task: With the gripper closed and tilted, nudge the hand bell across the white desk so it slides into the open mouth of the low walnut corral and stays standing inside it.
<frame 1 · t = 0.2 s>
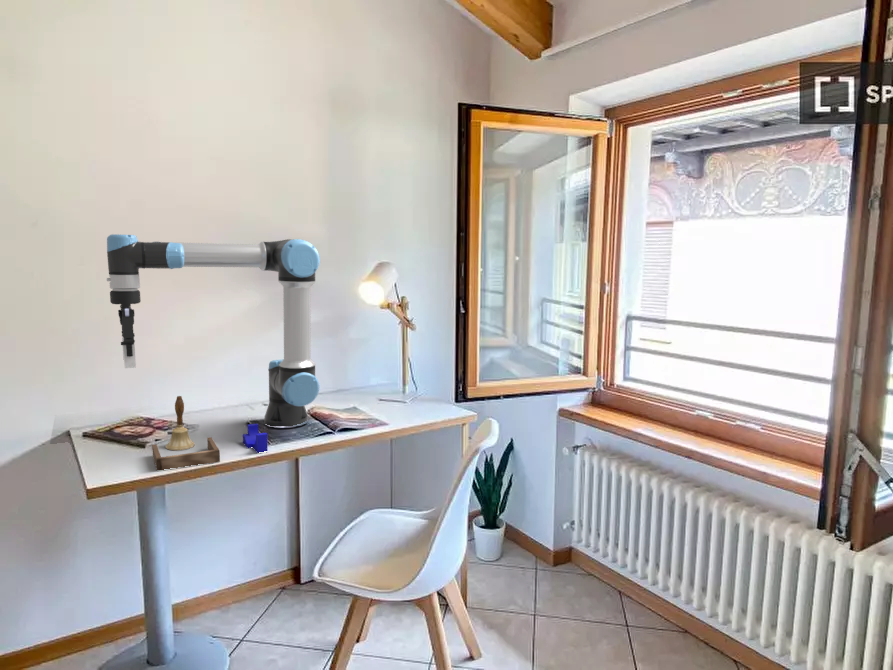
hand: (129, 363, 169), 28 cm above the table, tool pointing down, fingers open, 13 cm apart
hand bell: (180, 446, 182), on the table
walnut corral: (185, 458, 172), on the table
cable clip: (254, 448, 183), on the table
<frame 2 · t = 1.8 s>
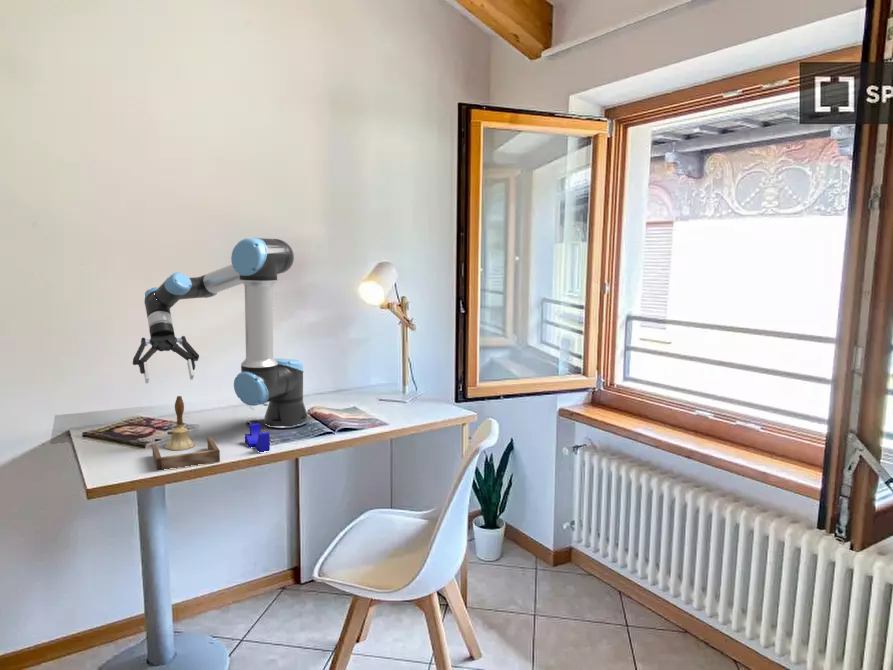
hand: (170, 379, 193), 18 cm above the table, tool tilted 45°, fingers open, 13 cm apart
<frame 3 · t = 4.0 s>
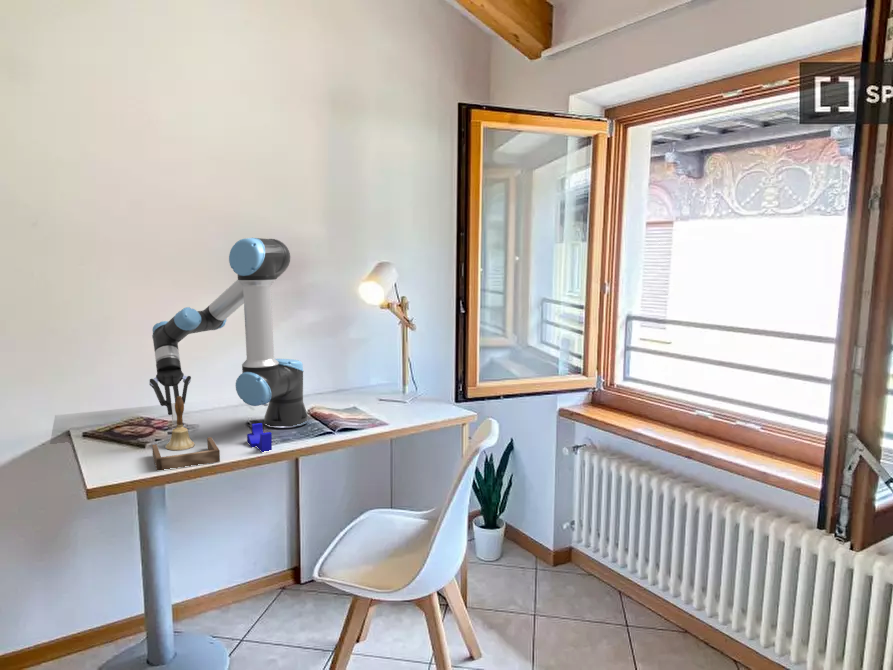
hand: (175, 422, 189), 5 cm above the table, tool tilted 45°, fingers closed
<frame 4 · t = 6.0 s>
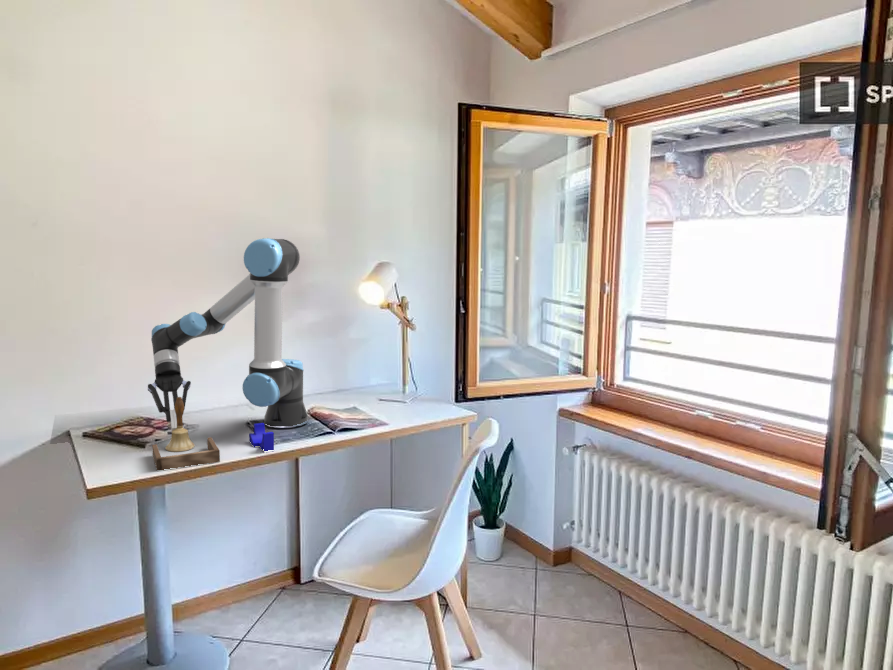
hand: (174, 429, 182), 5 cm above the table, tool tilted 45°, fingers closed
hand bell: (180, 448, 181), on the table, touching gripper
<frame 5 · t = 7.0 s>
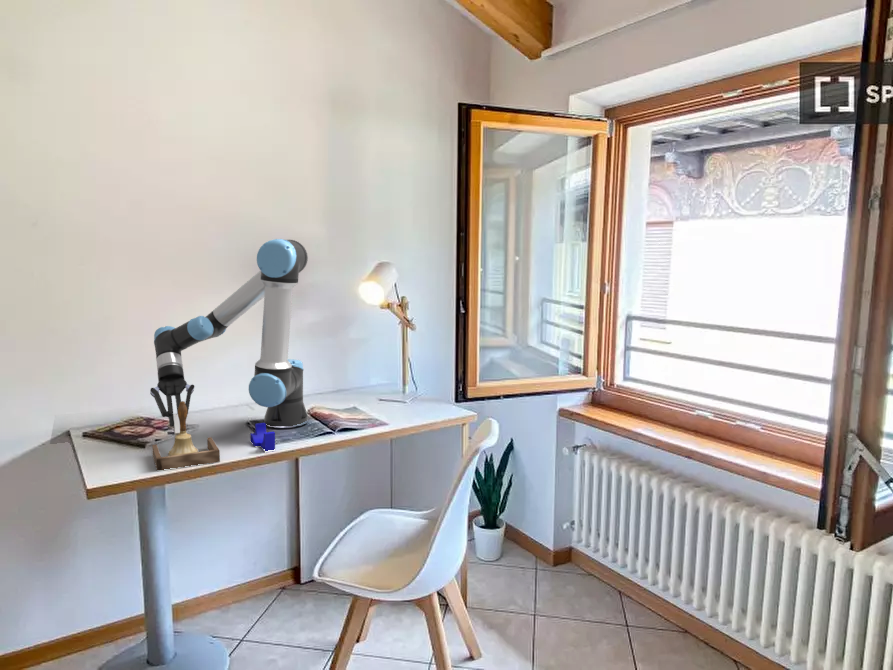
hand: (177, 434, 178), 5 cm above the table, tool tilted 45°, fingers closed
hand bell: (183, 453, 176), on the table, touching gripper
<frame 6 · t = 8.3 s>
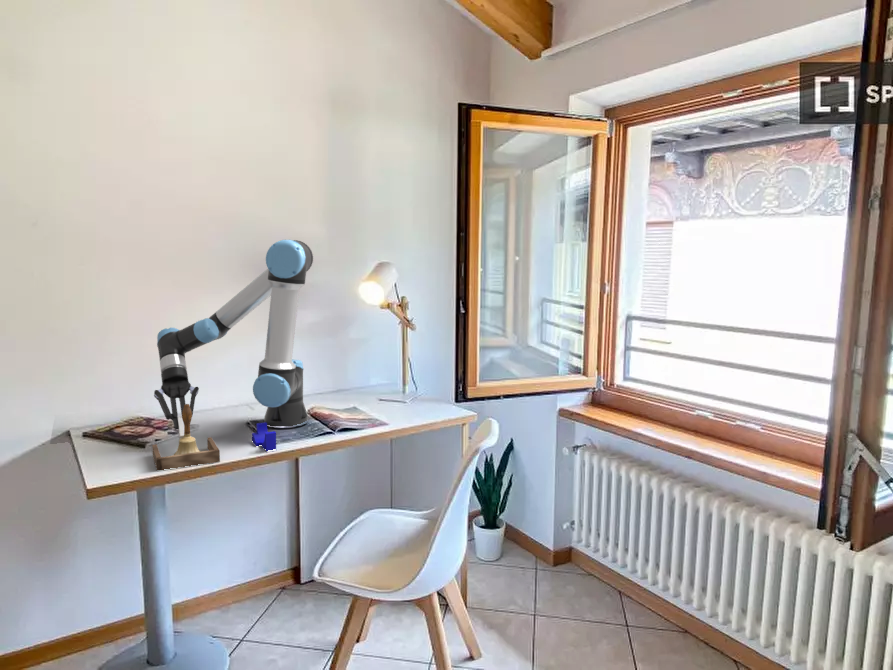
hand: (182, 437, 175), 5 cm above the table, tool tilted 45°, fingers closed
hand bell: (187, 457, 174), on the table, touching gripper
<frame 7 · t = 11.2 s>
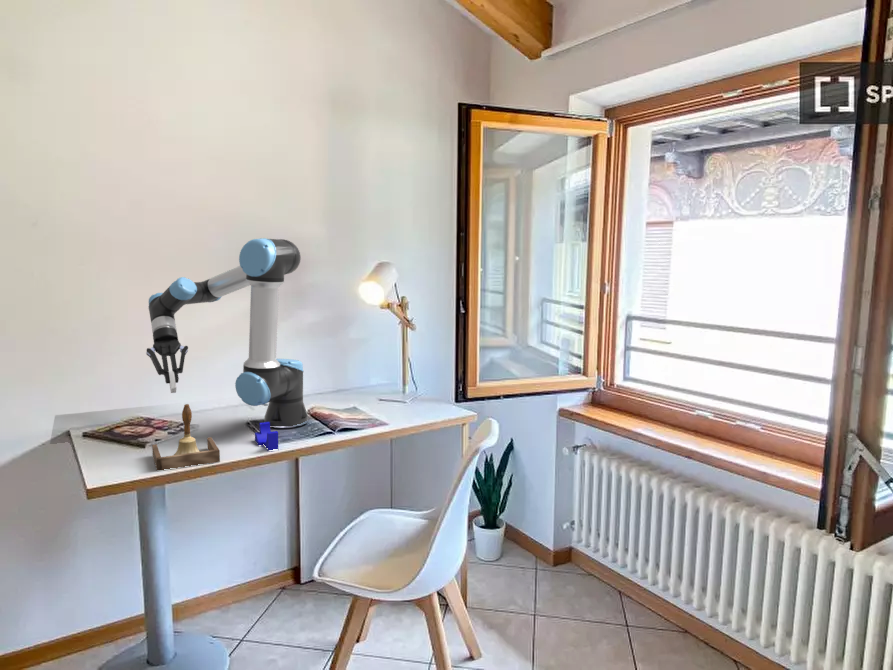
hand: (173, 390, 189), 15 cm above the table, tool tilted 45°, fingers closed
hand bell: (187, 457, 174), on the table
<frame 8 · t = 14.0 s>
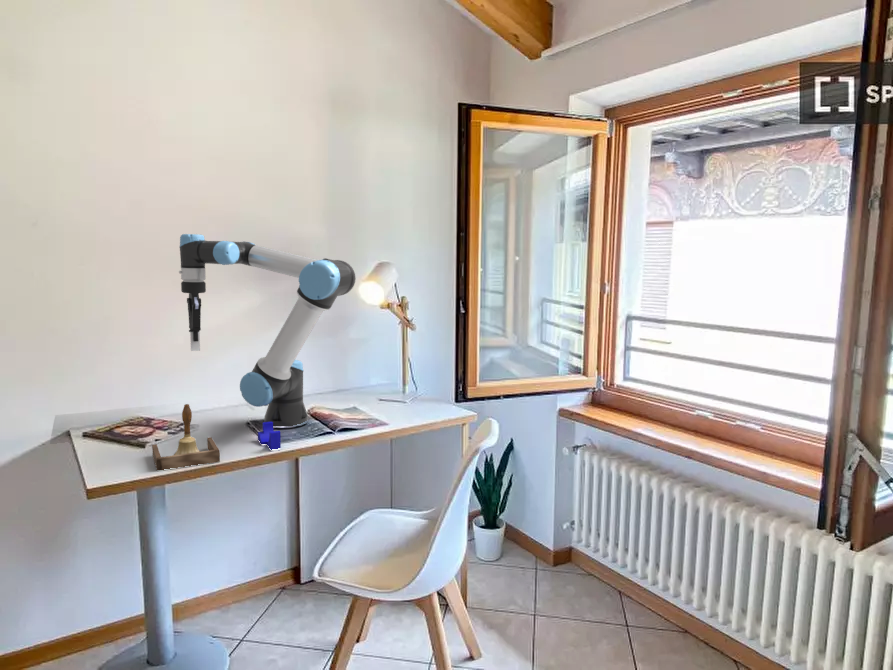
hand: (195, 350, 199), 26 cm above the table, tool pointing down, fingers closed
at the end: hand bell 1.5 cm off-centre on the walnut corral, point 0.0 cm above the walnut corral's base; hand bell tilted 0°; hand bell moved 10.7 cm from its start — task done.
